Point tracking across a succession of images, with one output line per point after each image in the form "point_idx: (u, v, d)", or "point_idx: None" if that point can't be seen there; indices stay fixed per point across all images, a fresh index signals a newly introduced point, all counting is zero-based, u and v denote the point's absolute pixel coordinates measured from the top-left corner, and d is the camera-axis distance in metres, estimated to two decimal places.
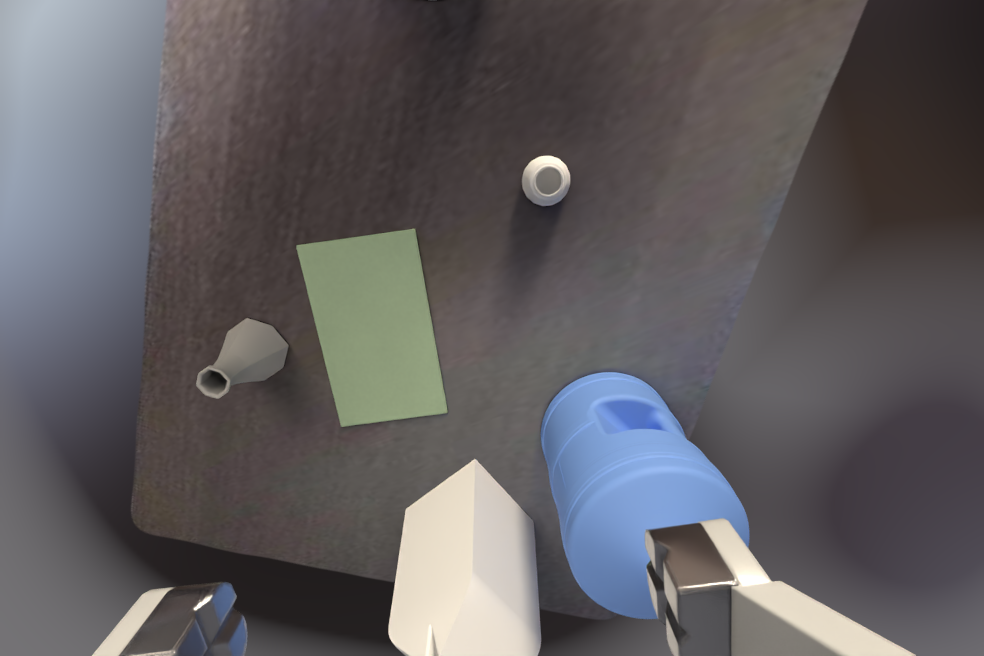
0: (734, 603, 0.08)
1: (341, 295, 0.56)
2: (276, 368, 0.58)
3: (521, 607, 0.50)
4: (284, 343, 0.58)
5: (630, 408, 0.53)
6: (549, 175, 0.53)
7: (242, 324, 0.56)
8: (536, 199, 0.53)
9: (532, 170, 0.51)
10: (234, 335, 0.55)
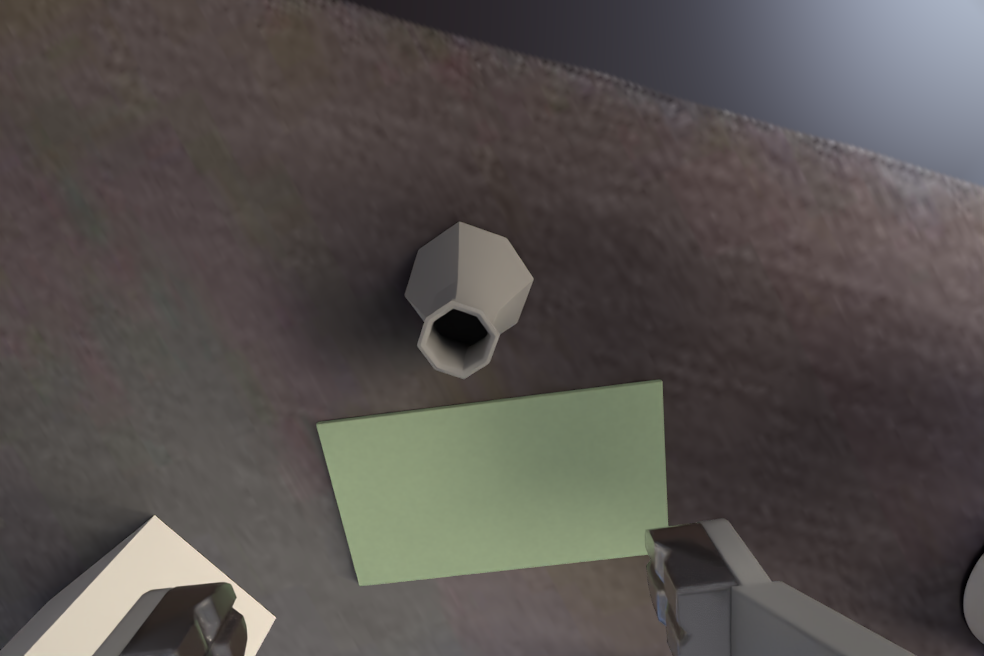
0: (734, 603, 0.08)
1: (569, 445, 0.33)
2: None
3: None
4: None
5: None
6: None
7: (526, 280, 0.29)
8: None
9: None
10: (513, 280, 0.27)
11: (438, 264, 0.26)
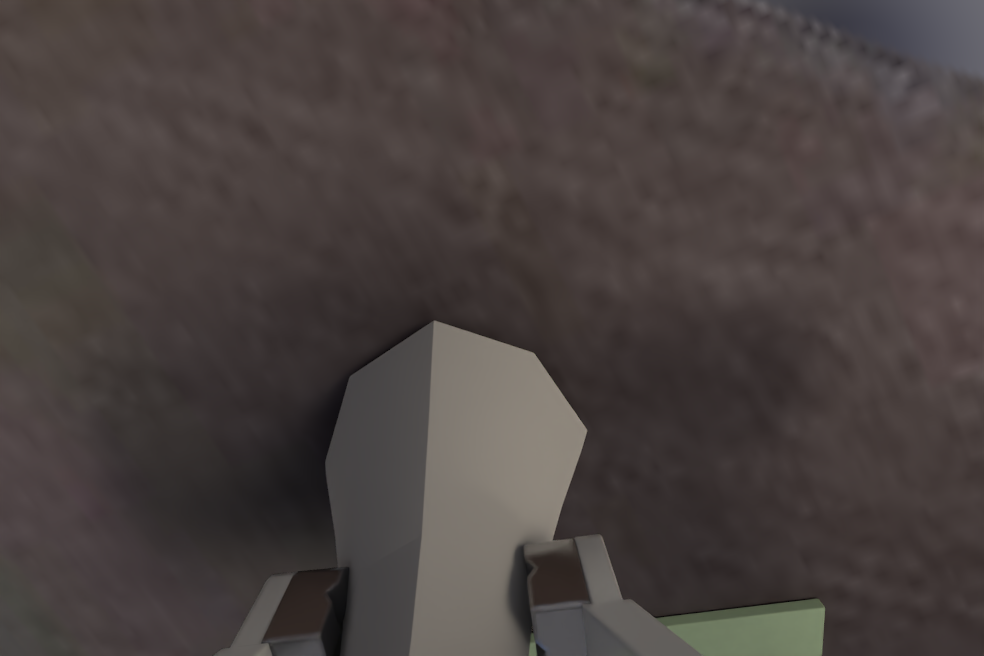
0: (585, 621, 0.08)
1: None
2: None
3: None
4: None
5: None
6: None
7: (577, 444, 0.14)
8: None
9: None
10: (554, 464, 0.12)
11: (382, 442, 0.11)
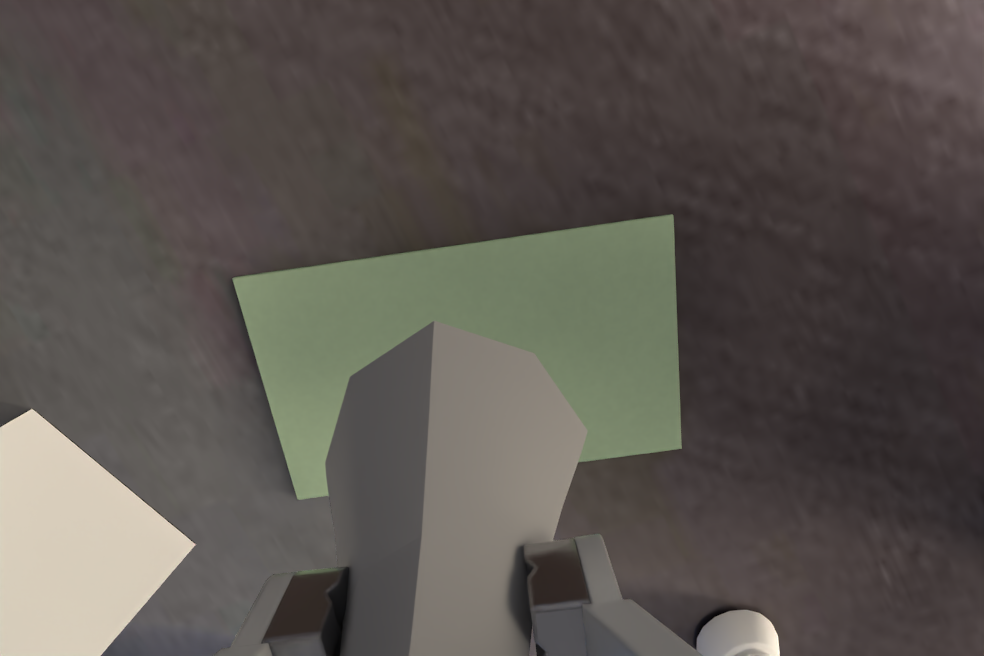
0: (585, 621, 0.08)
1: (557, 304, 0.26)
2: None
3: None
4: None
5: None
6: None
7: (577, 445, 0.14)
8: (718, 645, 0.31)
9: (768, 642, 0.31)
10: (554, 464, 0.12)
11: (382, 442, 0.11)
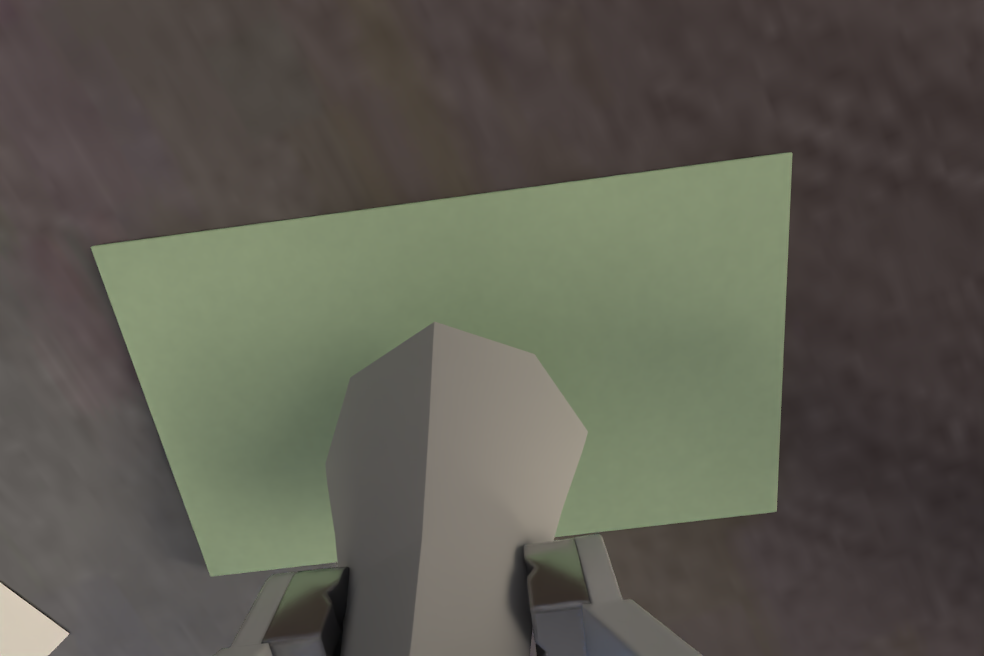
0: (585, 621, 0.08)
1: (600, 295, 0.17)
2: None
3: None
4: None
5: None
6: None
7: (577, 446, 0.14)
8: None
9: None
10: (555, 465, 0.12)
11: (382, 443, 0.11)
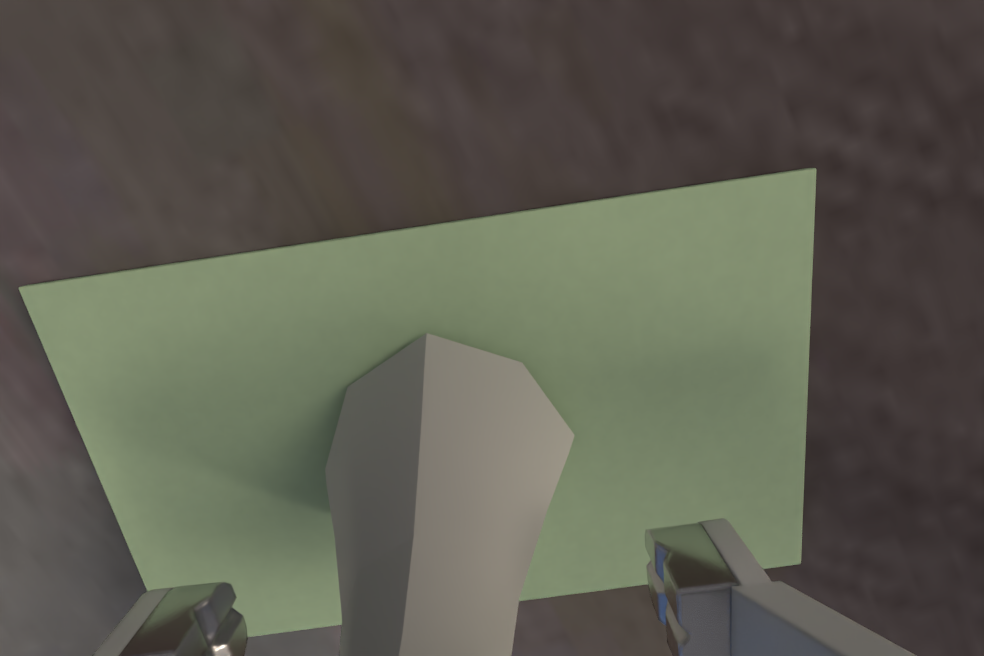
0: (734, 603, 0.08)
1: (600, 331, 0.15)
2: None
3: None
4: None
5: None
6: None
7: (564, 449, 0.14)
8: None
9: None
10: (541, 468, 0.13)
11: (377, 449, 0.12)
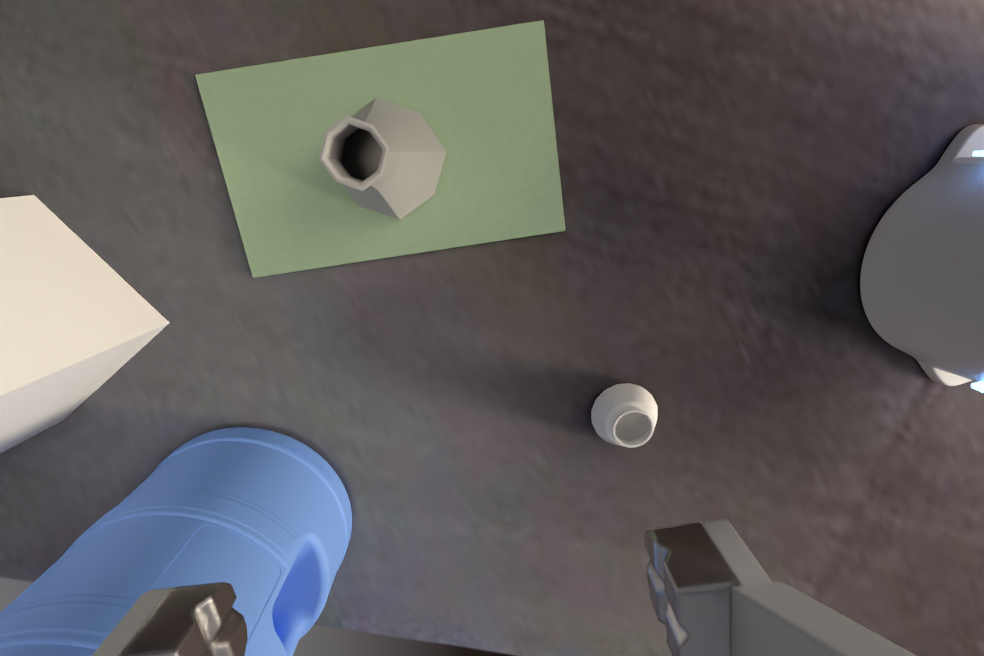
0: (734, 603, 0.08)
1: (456, 99, 0.32)
2: (358, 201, 0.33)
3: None
4: (404, 214, 0.34)
5: (308, 584, 0.34)
6: (629, 416, 0.39)
7: (438, 149, 0.32)
8: (605, 408, 0.38)
9: (644, 403, 0.37)
10: (422, 142, 0.31)
11: None
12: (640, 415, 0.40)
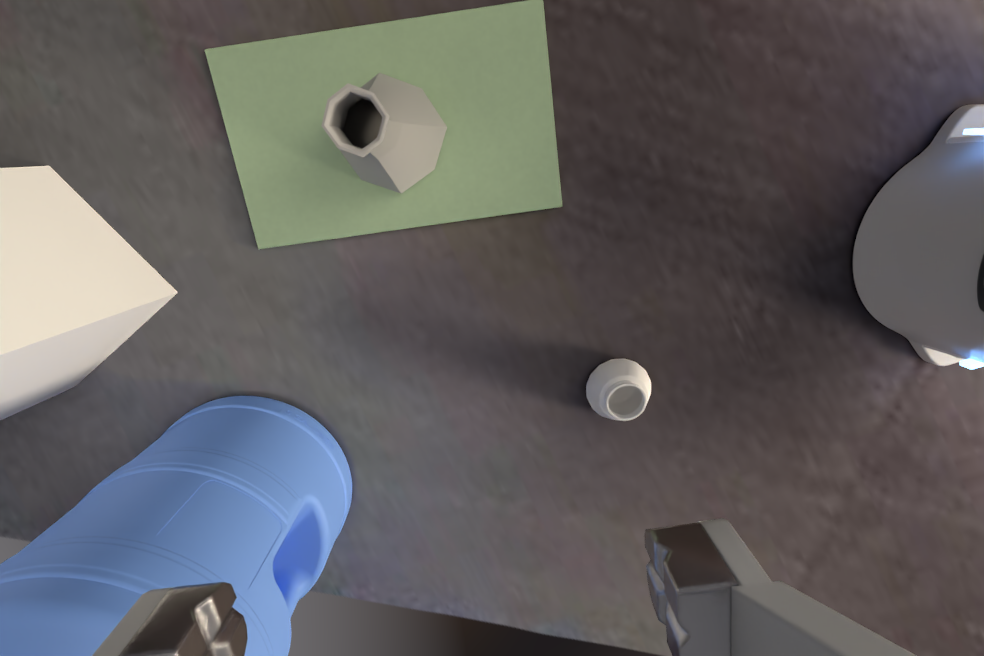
0: (734, 603, 0.08)
1: (456, 75, 0.33)
2: (361, 174, 0.34)
3: None
4: (405, 188, 0.35)
5: (308, 546, 0.36)
6: (623, 391, 0.40)
7: (438, 123, 0.33)
8: (599, 381, 0.38)
9: (638, 377, 0.38)
10: (423, 116, 0.31)
11: None
12: (634, 390, 0.40)
